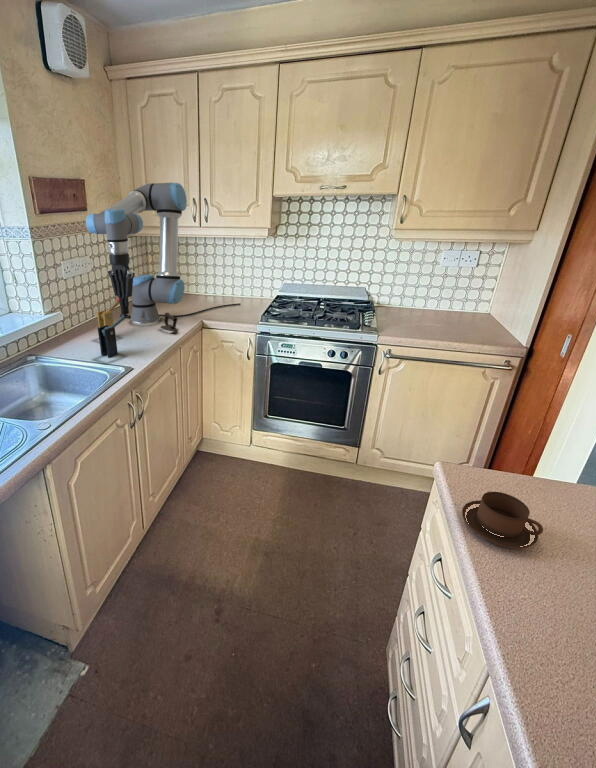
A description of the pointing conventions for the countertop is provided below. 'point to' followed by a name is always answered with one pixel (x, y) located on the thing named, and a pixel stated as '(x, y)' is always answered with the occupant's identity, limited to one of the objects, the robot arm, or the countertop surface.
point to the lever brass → (111, 307)
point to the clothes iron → (170, 327)
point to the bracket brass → (105, 318)
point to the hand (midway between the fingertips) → (125, 313)
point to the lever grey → (117, 322)
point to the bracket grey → (108, 341)
